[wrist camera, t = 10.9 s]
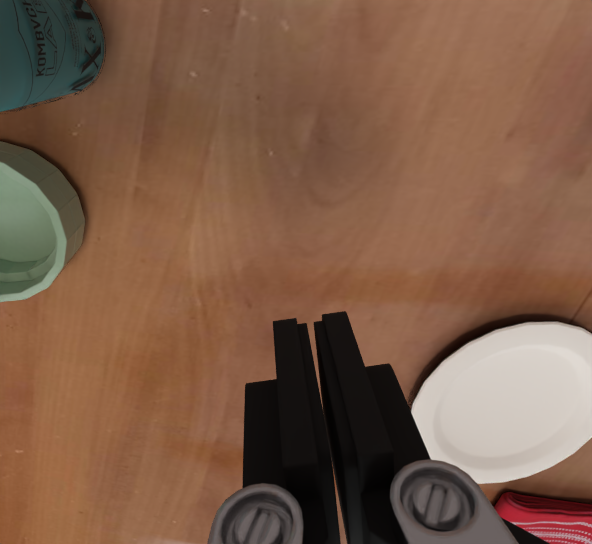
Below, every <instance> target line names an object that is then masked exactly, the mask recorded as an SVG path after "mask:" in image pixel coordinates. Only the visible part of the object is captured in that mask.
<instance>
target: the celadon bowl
mask: <svg viewBox="0 0 592 544" xmlns="http://www.w3.org/2000/svg"><path fill="white" fill-rule="evenodd" d="M84 227H85V218H84V214H83V211H82V208H81V204H80V201H79V197H78V195H77V193H76V191H75V190H74V189H73V187H72V186H71V185H70V183H69V182H68V181H67V179H66V178H65V177H64V175H63V174H62V173H61V171H60V170H59V169H58V168H57V167H55V166H54V165H52V164H51V163H49V162H48V161H46V160H45V159H43V158H42V157H41V156H39V155H38V154H36V153H35V152H33V151H32V150H29V149H26V148H23V147H19V146H16V145H12V144H9V143H5V142H2V141H0V302H4V301H15V300H24V299H27V298H29V297H31V296H33V295H35V294H37V293H39V292H41V291H42V290H44V289H46V288H48V287H49V286H50V285H51V284H52V283H53V282H54V280H55V279H56V278H57V277H58V276H59V274H60V273H61V272H62V271H63V269H64V268H65V267H66V266H67V265H68V263H69V262H70V261H71V259H72V258H73V257H74V255H75V254H76V252H77V251H78V250H79V248H80V247H81V245H82V240H83V234H84Z"/></svg>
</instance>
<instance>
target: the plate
mask: <svg viewBox="0 0 592 544" xmlns="http://www.w3.org/2000/svg"><path fill="white" fill-rule="evenodd" d="M411 413H412V416H413V418H414V420H415V423H416V425H417V428H418V430H419V432H420V435H421V437H422V439H423V442H424V444H425V446H426V449H427V451H428V454H429V456H430V458H431V460H438V461H444V462H447V463H449V464H452V465H455V466H457V467H458V468H460V469H461V470H463V471H464V472H466V473H467V474H469V475H470V477H471V478H472V479H473V480H474V481H475V482H476V483H479V484H481V483H499V482H507V481H511V480H515V479H520V478H524V477H528V476H530V475H533V474H535V473H538V472H540V471H543V470H545V469H548V468H550V467H552V466H554V465H555V464H557V463H559V462H560V461H562V460H564V459H565V458H567V457H568V456H570V455H572V454H573V453H575V452H576V451H577V450H578V449H579V448H580V447H581V446H583V445H584V444H585V443H586V442H587V441H588V440H589V439H591V438H592V333H590V332H588V331H587V330H585V329H583V328H582V327H579V326H575V325H571V324H567V323H562V322H558V321H526V322H522V323H517V324H513V325H509V326H505V327H501V328H497V329H494V330H492V331H490V332H488V333H485V334H483V335H481V336H479V337H477V338H475V339H473V340H470V341H468V342H466V343H465V344H464V345H462V346H461V347H459V348H458V349H457V350H455V351H454V352H453V353H451V354H450V355H449V356H447V357H446V358H444V359H443V360H442V361H441V362H440V363H439V364H438V365H437V367H436V368H435V369H434V370H433V371H432V372H431V373H430V374H429V376H428V377H427V378H426V379H425V380H424V381H423V383H422V385H421V387H420V389H419V391H418V393H417V395H416V397H415V399H414V400H413V402H412V407H411Z"/></svg>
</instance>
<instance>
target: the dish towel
mask: <svg viewBox="0 0 592 544" xmlns="http://www.w3.org/2000/svg"><path fill="white" fill-rule="evenodd" d="M494 509H495V510H496V511H497V513H498V514H499V516H500V517H501V518H503V519H505V520H507V521H509V522H511V523H513V524H515V525H516V526H518V527H520V528H522V529H524V530H526V531H528V532H529V533H531V534H533V535H535V536H537V537H539V538H541V539H543V540H544V541H546V542H548V543H550V544H592V505H591V504H583V503H576V502H569V501H562V500H554V499H547V498H539V497H532V496H525V495H519V494H515V493H512V492H507V493H504V494H503V495H502V496H501V497H500V499H499V500H498V502H497V504H496V505H495V506H494Z"/></svg>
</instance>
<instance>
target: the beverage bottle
mask: <svg viewBox="0 0 592 544" xmlns="http://www.w3.org/2000/svg"><path fill="white" fill-rule="evenodd" d="M89 4H90V3H89ZM91 7H92V6H91ZM93 10H94V9H93ZM93 10H92V9H91V8H90V6H89V5H88V4H87V3H86V1H85V0H0V112H1V111H6V110H10V109H14V108H15V109H16V108H18V107H21V108H20V110H21V109H22V108H23V106H24V107H25V105H26V107H27V105H29V104H33V103H36V104H38V103H37V102H41V101H44V100H49V99H52V98H55V99H56V97H57V98H58V97H59V96H63V95H67V94H71V93H74V92H77V91H80V92H81V91H82V90H83V88H86V87H87V86H88V85H89V84H90V83H91V82H92V81H94V79H95V78H96V76H98V75H97V74H99V71H100V69H101V66H102V62H103V58H104V38H105V37H104V38H103V33H104V32H103V33H102V30H103V29H102V30H101V27H100V24H101V23H100V24H99V22H98V19H99V18H98V19H97V17H98V16H97V17H96V16H95V14H94V12H93ZM96 15H97V14H96ZM99 21H100V20H99ZM101 26H102V25H101ZM105 55H106V44H105ZM104 62H105V60H104ZM103 65H104V64H103ZM102 69H103V68H102ZM101 71H102V70H101ZM100 73H101V72H100ZM98 77H99V76H98ZM96 80H97V79H96ZM92 83H93V82H92ZM90 85H91V84H90ZM92 85H93V84H92ZM92 85H91V86H92ZM88 87H89V86H88ZM83 92H84V90H83ZM75 94H77V93H75ZM78 94H80V93H78ZM70 97H71V96H70ZM59 98H62V99H64V98H63V97H59ZM58 100H60V99H58ZM55 101H56V100H55ZM46 102H47V101H46ZM51 102H53V101H51ZM47 103H49V102H47ZM44 104H45V102H44ZM33 105H34V104H33ZM35 106H38V105H35ZM35 106H34V107H35ZM30 107H31V106H29V108H30ZM25 109H26V108H25ZM17 110H18V109H16V110H11V111H16V112H17ZM20 110H18V111H20ZM6 112H7V111H6Z"/></svg>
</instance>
